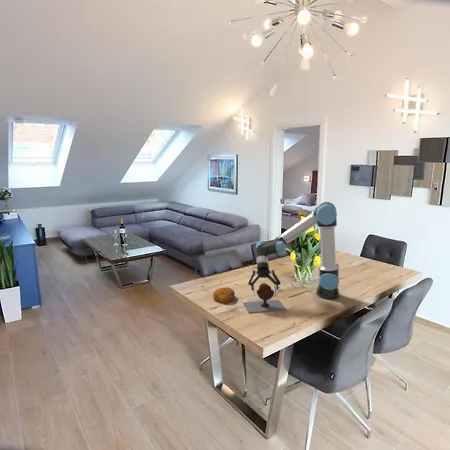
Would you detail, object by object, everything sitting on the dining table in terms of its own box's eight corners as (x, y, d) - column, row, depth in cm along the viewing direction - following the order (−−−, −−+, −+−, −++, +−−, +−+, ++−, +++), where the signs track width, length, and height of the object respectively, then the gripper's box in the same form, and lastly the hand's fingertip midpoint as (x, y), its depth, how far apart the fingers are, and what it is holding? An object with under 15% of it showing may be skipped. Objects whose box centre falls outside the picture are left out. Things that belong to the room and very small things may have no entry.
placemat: (278, 300, 220) (278, 299, 220) (286, 310, 207) (286, 309, 207) (243, 303, 216) (243, 302, 216) (248, 313, 202) (248, 312, 202)
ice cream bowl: (273, 310, 205) (274, 287, 202) (255, 308, 207) (255, 285, 204) (274, 302, 215) (275, 280, 212) (257, 301, 217) (257, 279, 214)
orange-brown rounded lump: (236, 298, 229) (237, 286, 228) (231, 304, 214) (232, 292, 213) (216, 295, 232) (216, 284, 232) (209, 301, 217) (210, 289, 217)
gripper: (280, 266, 223) (284, 297, 211) (243, 266, 222) (244, 297, 210) (282, 261, 216) (286, 292, 205) (244, 261, 215) (245, 293, 204)
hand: (265, 295), depth 207 cm, fingers open, 13 cm apart
